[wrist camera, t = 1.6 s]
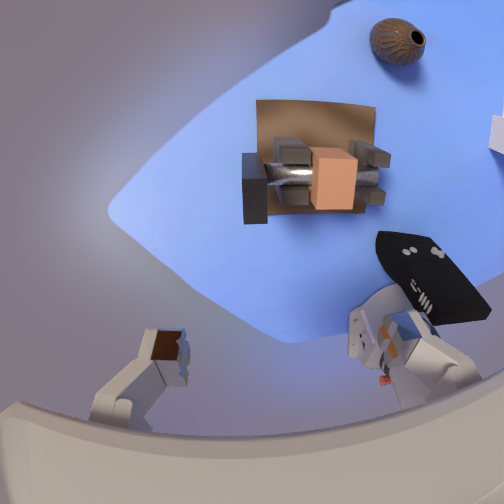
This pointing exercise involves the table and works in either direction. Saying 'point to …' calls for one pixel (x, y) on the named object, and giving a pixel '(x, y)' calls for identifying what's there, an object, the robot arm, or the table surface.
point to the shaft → (281, 182)
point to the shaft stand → (316, 135)
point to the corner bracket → (497, 134)
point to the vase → (397, 41)
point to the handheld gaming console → (430, 279)
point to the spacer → (332, 178)
